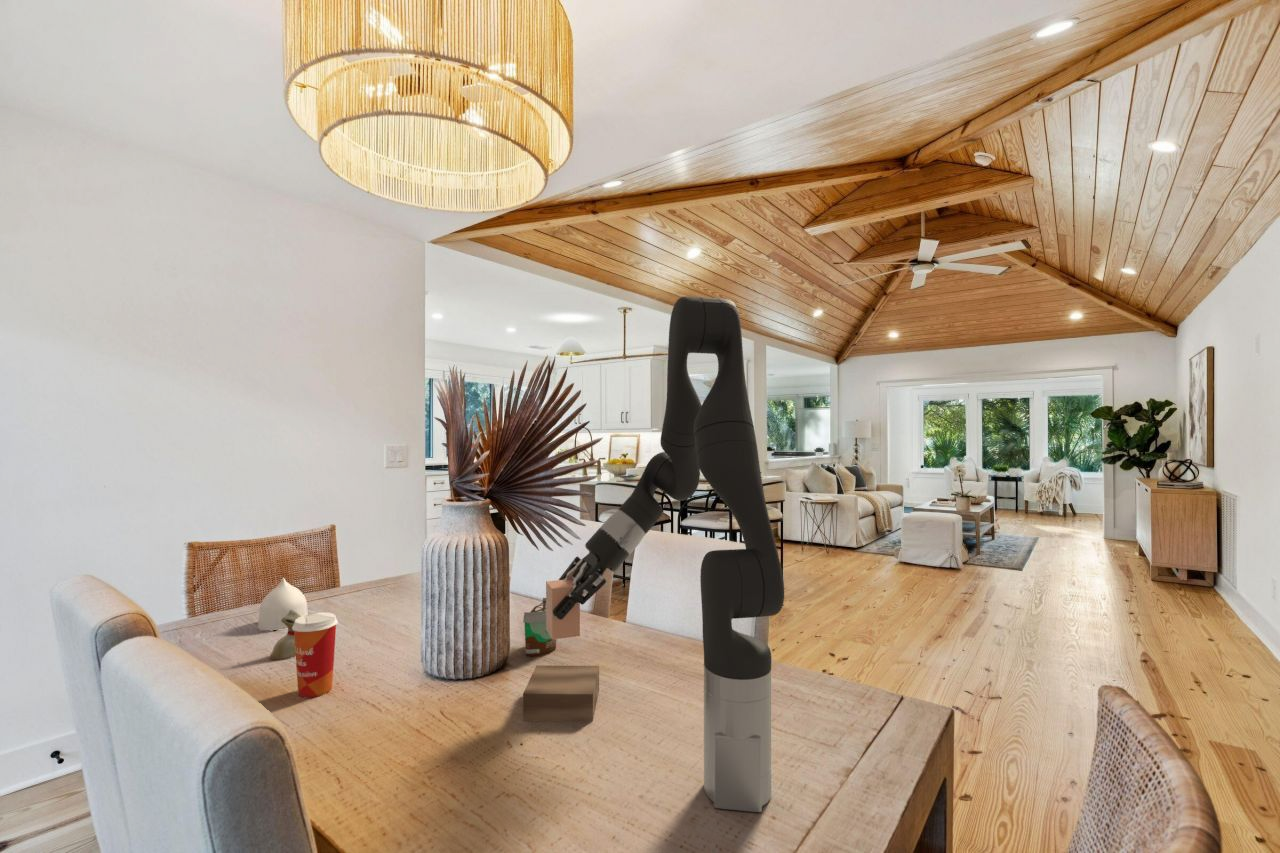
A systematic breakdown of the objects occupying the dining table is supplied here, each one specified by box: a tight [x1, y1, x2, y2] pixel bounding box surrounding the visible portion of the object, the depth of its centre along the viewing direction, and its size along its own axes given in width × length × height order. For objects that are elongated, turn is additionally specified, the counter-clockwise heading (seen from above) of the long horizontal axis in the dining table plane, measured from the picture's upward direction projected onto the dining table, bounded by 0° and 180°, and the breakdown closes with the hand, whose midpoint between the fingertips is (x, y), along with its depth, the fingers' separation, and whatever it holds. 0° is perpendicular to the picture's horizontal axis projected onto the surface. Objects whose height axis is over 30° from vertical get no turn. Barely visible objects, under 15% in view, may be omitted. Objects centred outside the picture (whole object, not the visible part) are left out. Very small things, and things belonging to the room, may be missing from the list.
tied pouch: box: [269, 610, 301, 661], centre depth 132 cm, size 6×8×10 cm
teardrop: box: [257, 576, 309, 631], centre depth 152 cm, size 11×11×12 cm
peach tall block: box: [545, 579, 581, 640], centre depth 108 cm, size 5×5×9 cm
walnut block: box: [522, 664, 600, 722], centre depth 108 cm, size 12×12×5 cm
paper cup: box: [292, 612, 339, 699], centre depth 113 cm, size 8×8×14 cm
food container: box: [522, 597, 558, 658], centre depth 134 cm, size 12×6×10 cm, turn 168°
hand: (552, 611), depth 107 cm, fingers closed on peach tall block, 5 cm apart
